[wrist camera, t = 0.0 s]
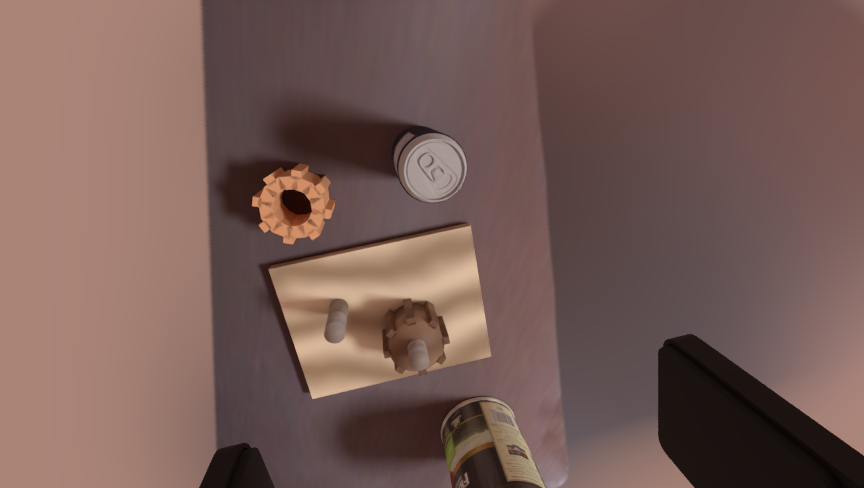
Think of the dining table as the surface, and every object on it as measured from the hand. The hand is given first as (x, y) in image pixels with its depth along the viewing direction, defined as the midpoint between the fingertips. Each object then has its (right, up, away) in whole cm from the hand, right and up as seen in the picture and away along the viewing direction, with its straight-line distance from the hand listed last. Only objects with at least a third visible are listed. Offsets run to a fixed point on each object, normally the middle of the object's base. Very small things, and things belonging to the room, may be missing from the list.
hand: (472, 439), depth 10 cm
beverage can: (-2, +14, +34) cm, 37 cm away
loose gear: (-15, +9, +34) cm, 38 cm away
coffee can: (+5, -20, +47) cm, 51 cm away
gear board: (-6, -3, +39) cm, 40 cm away
